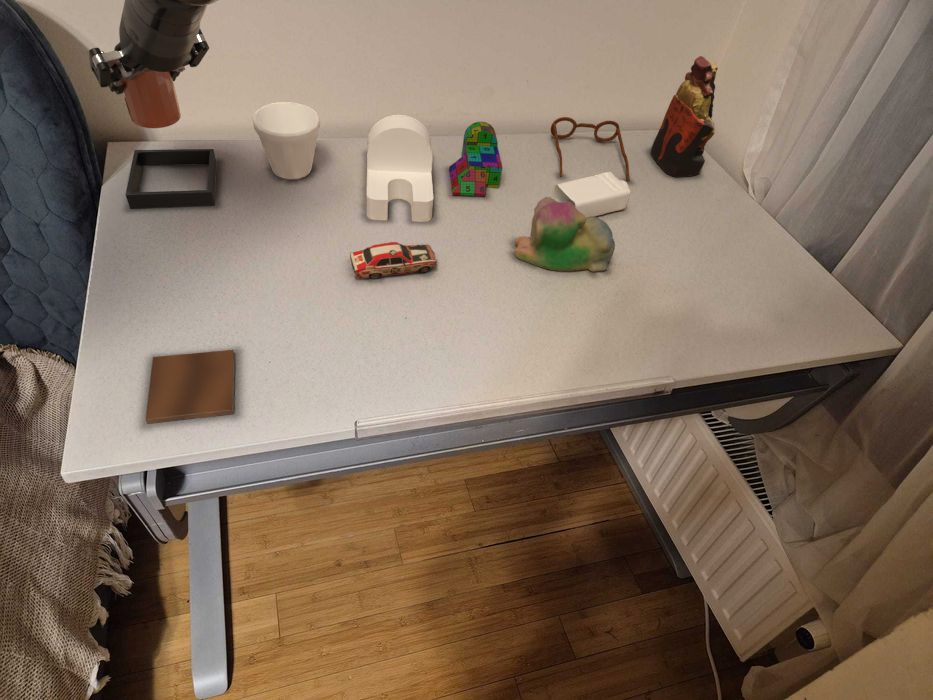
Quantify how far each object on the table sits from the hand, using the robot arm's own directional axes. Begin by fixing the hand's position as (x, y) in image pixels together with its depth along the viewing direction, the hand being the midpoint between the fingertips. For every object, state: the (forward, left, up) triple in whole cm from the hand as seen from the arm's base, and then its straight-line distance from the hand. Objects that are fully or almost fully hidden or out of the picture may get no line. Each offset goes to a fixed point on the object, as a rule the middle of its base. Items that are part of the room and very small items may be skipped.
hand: (142, 80), depth 83 cm
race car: (+31, -23, -16) cm, 42 cm away
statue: (+88, +2, -16) cm, 90 cm away
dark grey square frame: (+1, -1, -16) cm, 16 cm away
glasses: (+71, +3, -16) cm, 73 cm away
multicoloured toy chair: (+48, -1, -16) cm, 51 cm away
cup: (+18, +2, -16) cm, 24 cm away
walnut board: (+5, -41, -16) cm, 44 cm away
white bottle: (+66, -11, -16) cm, 69 cm away
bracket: (+35, -3, -16) cm, 39 cm away
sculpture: (+57, -23, -16) cm, 64 cm away
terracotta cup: (+1, -1, -4) cm, 5 cm away
